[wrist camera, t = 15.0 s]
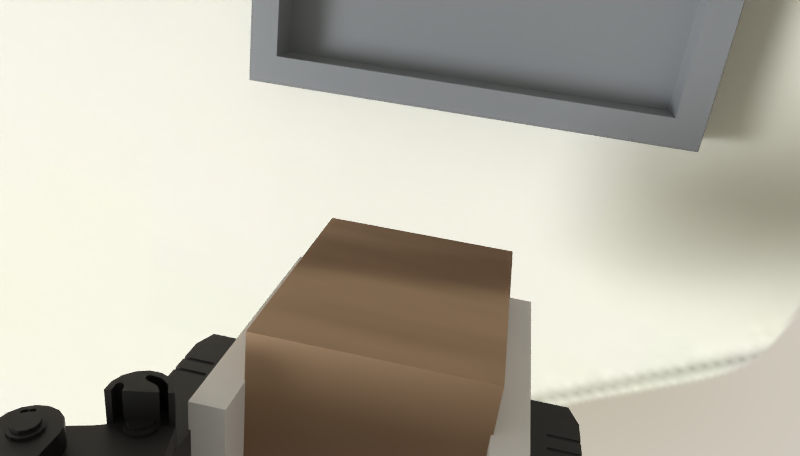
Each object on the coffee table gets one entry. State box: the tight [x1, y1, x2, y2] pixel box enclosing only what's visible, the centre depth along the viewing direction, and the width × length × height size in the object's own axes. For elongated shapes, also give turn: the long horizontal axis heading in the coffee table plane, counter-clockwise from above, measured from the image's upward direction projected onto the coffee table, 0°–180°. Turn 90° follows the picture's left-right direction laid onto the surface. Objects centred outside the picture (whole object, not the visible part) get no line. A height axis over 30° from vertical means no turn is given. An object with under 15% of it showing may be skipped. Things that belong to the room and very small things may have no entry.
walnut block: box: [243, 218, 512, 456], centre depth 16 cm, size 5×5×6 cm
